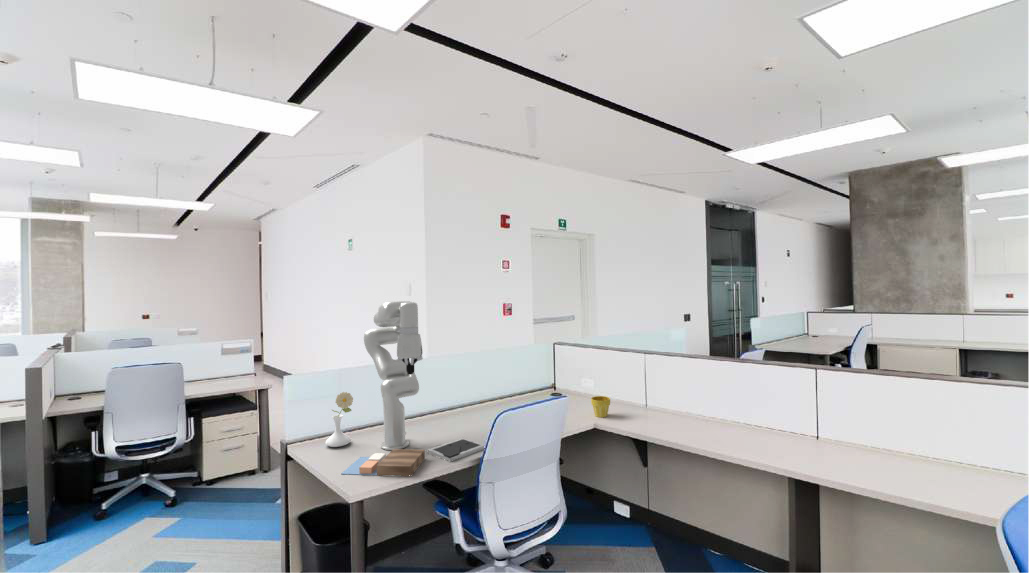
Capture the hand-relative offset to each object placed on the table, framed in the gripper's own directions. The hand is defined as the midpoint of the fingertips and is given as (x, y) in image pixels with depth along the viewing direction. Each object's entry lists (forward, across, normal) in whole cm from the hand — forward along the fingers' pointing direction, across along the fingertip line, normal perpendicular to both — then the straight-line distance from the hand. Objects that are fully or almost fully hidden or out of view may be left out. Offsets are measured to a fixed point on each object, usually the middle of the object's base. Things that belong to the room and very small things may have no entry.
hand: (410, 373), depth 206 cm
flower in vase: (+37, -41, +16) cm, 58 cm away
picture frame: (+38, +17, +11) cm, 43 cm away
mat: (+37, -16, -8) cm, 41 cm away
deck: (+37, -2, -8) cm, 38 cm away
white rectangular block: (+36, -14, -4) cm, 38 cm away
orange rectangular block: (+36, -14, -13) cm, 40 cm away
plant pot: (+37, +84, +68) cm, 114 cm away
